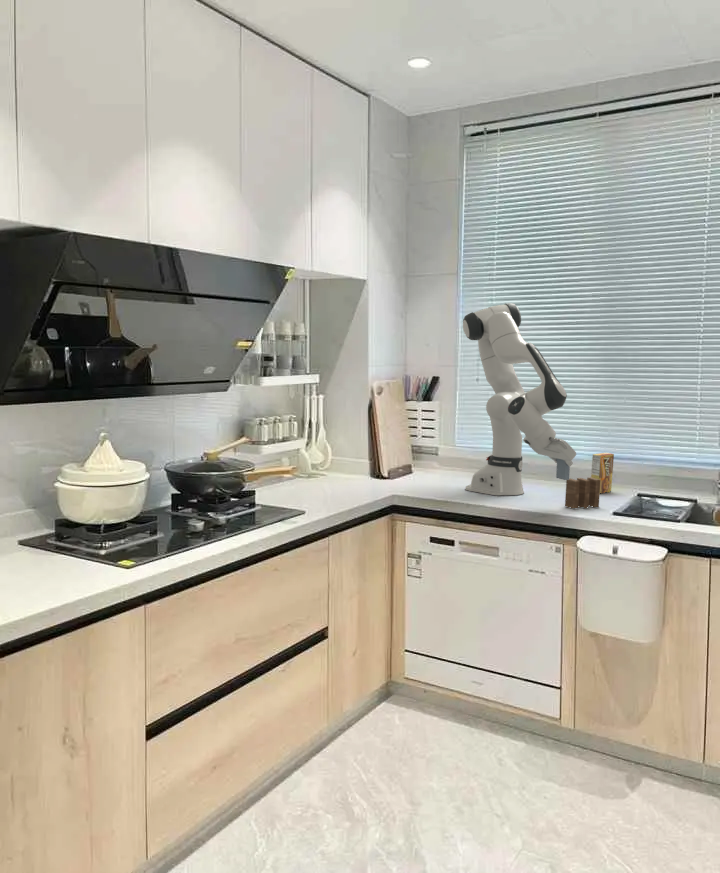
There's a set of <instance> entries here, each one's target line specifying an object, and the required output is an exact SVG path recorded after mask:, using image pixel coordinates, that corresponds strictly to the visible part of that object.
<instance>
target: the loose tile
mask: <svg viewBox="0 0 720 873" xmlns="http://www.w3.org/2000/svg"><path fill="white" fill-rule="evenodd" d="M570 468H571V466H567V465H566V464H565V460H562V459H558V458H557V463H556V470H555V471H556V475H555V477H556V479H559V480H563V481H566V480H569V479H570V472H571V470H570Z"/></svg>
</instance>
